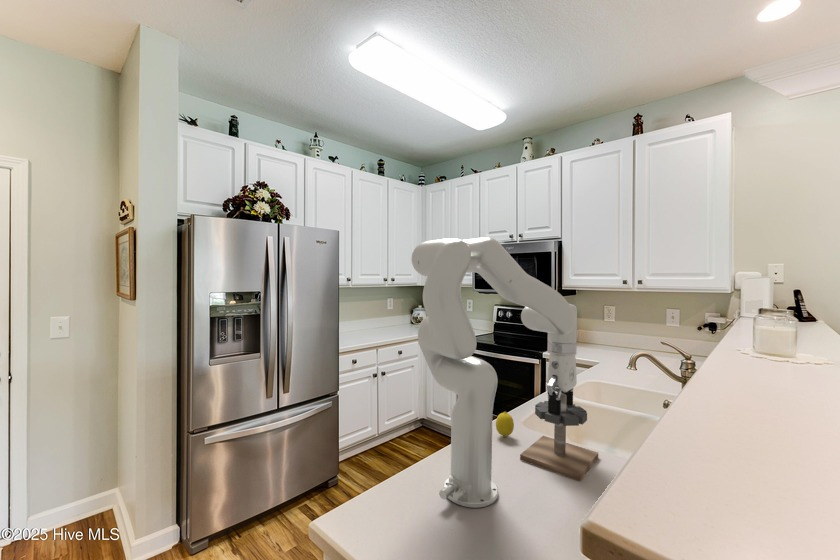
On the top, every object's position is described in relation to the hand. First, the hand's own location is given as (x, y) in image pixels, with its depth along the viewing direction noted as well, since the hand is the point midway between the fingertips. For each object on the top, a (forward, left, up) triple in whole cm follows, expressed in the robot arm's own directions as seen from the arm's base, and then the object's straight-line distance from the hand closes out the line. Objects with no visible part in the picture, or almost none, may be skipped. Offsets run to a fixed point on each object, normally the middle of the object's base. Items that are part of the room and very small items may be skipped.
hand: (560, 408), depth 103 cm
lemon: (+2, +18, -14) cm, 23 cm away
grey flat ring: (0, 0, -2) cm, 2 cm away
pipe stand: (0, 0, -14) cm, 14 cm away
